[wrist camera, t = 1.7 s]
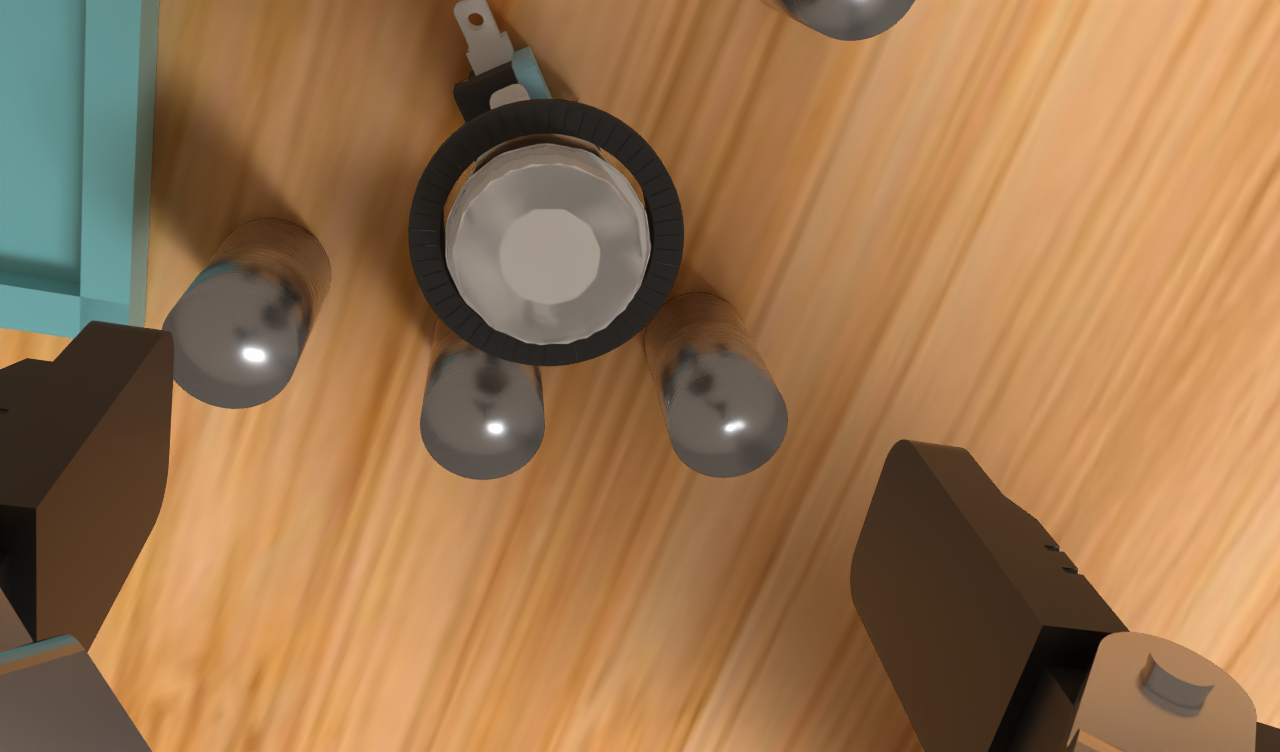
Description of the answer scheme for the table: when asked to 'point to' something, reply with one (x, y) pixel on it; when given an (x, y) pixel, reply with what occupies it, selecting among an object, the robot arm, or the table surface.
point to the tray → (75, 161)
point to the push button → (540, 216)
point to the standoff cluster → (476, 381)
